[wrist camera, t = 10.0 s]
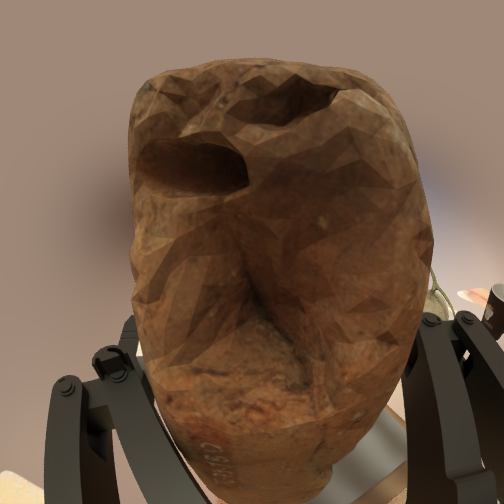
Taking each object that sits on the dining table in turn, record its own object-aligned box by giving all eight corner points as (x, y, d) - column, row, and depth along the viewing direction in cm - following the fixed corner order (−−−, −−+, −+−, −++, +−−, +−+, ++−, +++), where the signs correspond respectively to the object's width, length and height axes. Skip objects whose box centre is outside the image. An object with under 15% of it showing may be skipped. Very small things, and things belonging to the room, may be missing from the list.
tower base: (337, 373, 40) (344, 348, 37) (429, 461, 22) (450, 442, 19) (207, 431, 31) (200, 410, 29) (287, 561, 13) (292, 563, 11)
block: (223, 388, 20) (185, 104, 12) (317, 386, 20) (340, 99, 11) (206, 512, 11) (1, 80, 2) (331, 511, 10) (518, 62, 2)
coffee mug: (475, 316, 46) (489, 279, 42) (502, 324, 42) (518, 288, 37) (475, 347, 38) (495, 307, 34) (505, 356, 33) (527, 317, 29)
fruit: (418, 377, 36) (451, 305, 30) (375, 341, 46) (394, 271, 39) (447, 349, 40) (475, 282, 34) (406, 320, 50) (425, 255, 43)
